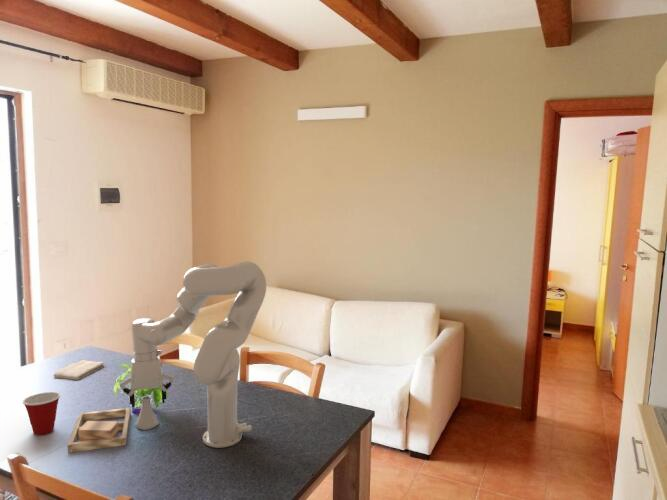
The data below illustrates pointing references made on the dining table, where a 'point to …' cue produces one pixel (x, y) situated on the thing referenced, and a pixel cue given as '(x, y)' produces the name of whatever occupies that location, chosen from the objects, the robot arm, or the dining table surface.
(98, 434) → the offcut upper
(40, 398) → the plastic cup
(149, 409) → the flask
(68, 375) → the washcloth
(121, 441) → the wooden tray
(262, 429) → the dining table surface
